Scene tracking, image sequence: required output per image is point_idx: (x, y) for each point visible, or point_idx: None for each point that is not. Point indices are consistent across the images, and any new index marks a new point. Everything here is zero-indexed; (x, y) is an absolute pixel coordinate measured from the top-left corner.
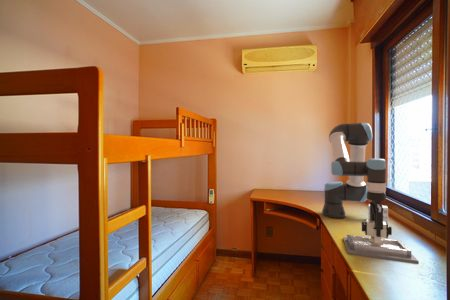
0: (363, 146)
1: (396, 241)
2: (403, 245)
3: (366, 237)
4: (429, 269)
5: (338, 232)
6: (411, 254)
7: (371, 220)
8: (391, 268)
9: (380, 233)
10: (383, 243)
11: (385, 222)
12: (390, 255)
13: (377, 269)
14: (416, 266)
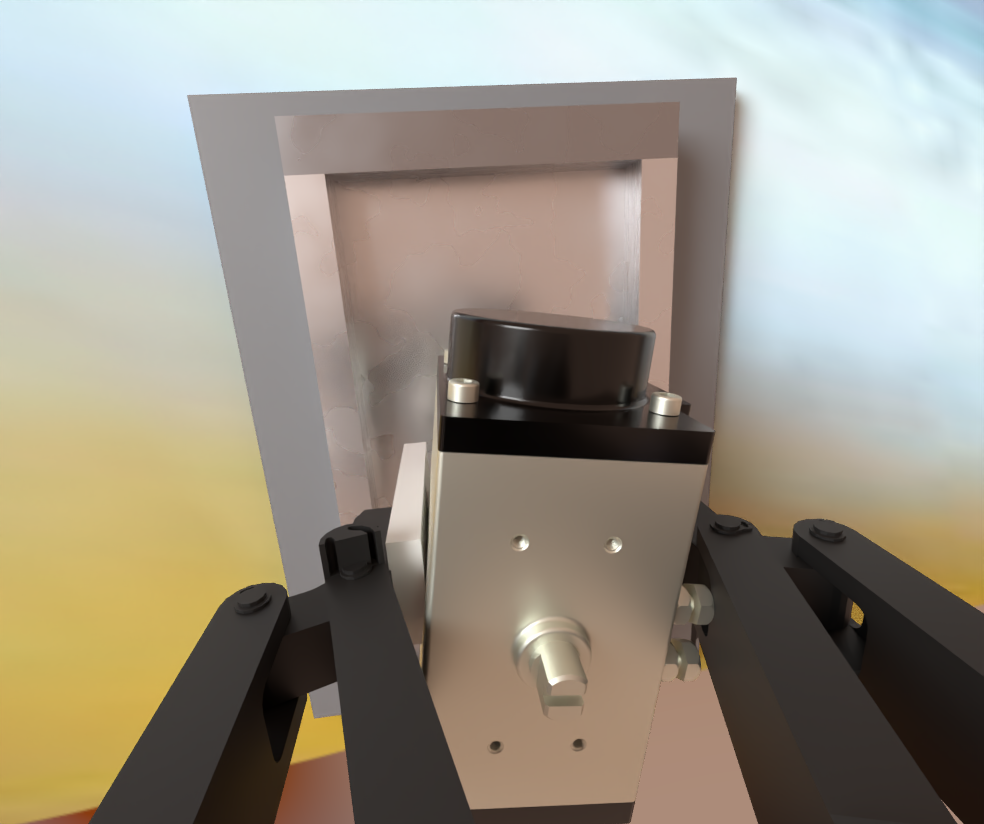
0: None
1: (329, 194)
2: (489, 142)
3: None
4: (836, 25)
5: (112, 747)
6: (567, 95)
7: (455, 729)
8: (881, 373)
9: (702, 503)
10: (389, 361)
11: (501, 454)
12: (672, 339)
13: (916, 475)
14: (796, 138)
